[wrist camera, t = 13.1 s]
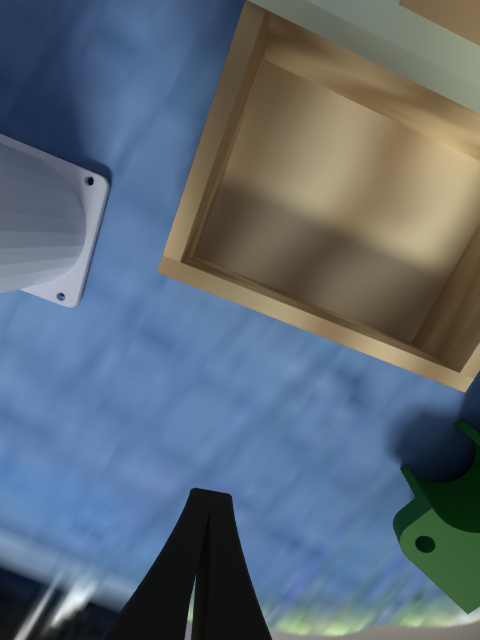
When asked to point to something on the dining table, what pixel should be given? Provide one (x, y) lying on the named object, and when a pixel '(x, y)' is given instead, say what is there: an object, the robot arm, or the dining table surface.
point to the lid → (402, 38)
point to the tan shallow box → (337, 201)
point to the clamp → (445, 530)
